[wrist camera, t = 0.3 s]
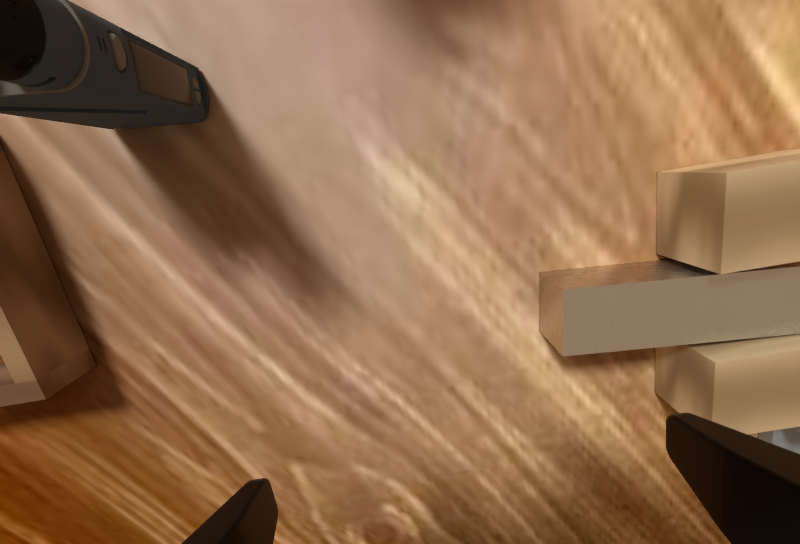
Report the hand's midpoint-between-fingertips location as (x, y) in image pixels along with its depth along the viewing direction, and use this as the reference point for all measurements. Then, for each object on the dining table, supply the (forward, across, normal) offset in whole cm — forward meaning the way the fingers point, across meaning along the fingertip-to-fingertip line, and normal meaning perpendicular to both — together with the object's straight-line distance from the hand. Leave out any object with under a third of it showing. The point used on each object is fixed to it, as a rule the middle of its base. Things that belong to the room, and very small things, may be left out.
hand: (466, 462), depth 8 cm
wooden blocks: (+11, -15, +1) cm, 19 cm away
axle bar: (+12, -12, +1) cm, 17 cm away
